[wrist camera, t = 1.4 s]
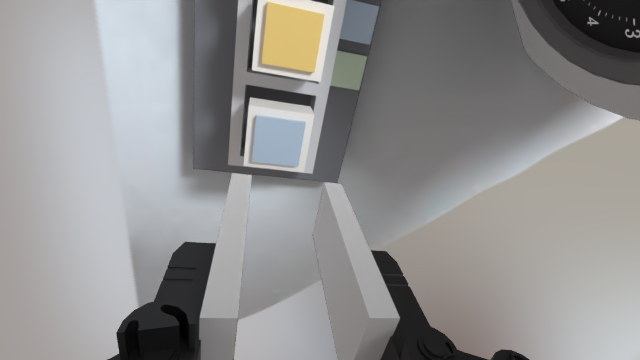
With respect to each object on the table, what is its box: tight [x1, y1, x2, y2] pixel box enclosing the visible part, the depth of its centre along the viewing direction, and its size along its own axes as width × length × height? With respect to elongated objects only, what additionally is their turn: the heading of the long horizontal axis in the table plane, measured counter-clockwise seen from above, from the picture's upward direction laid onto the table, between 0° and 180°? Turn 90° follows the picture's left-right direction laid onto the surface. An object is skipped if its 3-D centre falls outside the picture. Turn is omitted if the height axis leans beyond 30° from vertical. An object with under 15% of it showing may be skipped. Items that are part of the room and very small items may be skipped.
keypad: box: [193, 0, 381, 183], centre depth 21 cm, size 22×12×4 cm, turn 169°
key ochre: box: [252, 0, 335, 82], centre depth 18 cm, size 4×4×2 cm
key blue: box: [243, 97, 314, 172], centre depth 20 cm, size 4×4×2 cm
